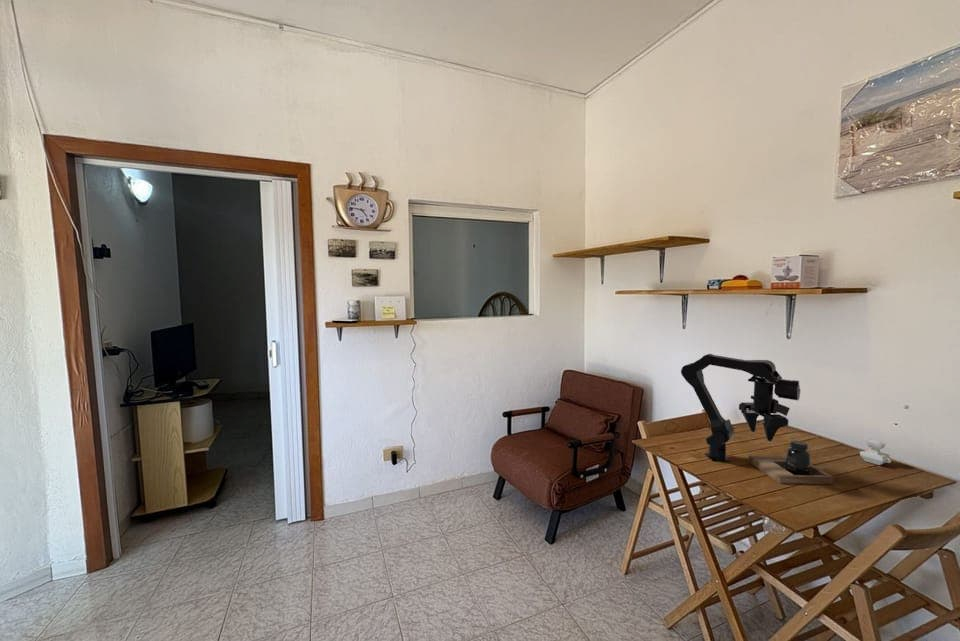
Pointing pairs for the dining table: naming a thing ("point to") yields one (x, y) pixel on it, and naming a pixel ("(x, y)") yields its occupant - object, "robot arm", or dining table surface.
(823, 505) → the dining table surface
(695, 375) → the robot arm
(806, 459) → the supplement bottle
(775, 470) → the tan flat square frame
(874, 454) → the stamp
